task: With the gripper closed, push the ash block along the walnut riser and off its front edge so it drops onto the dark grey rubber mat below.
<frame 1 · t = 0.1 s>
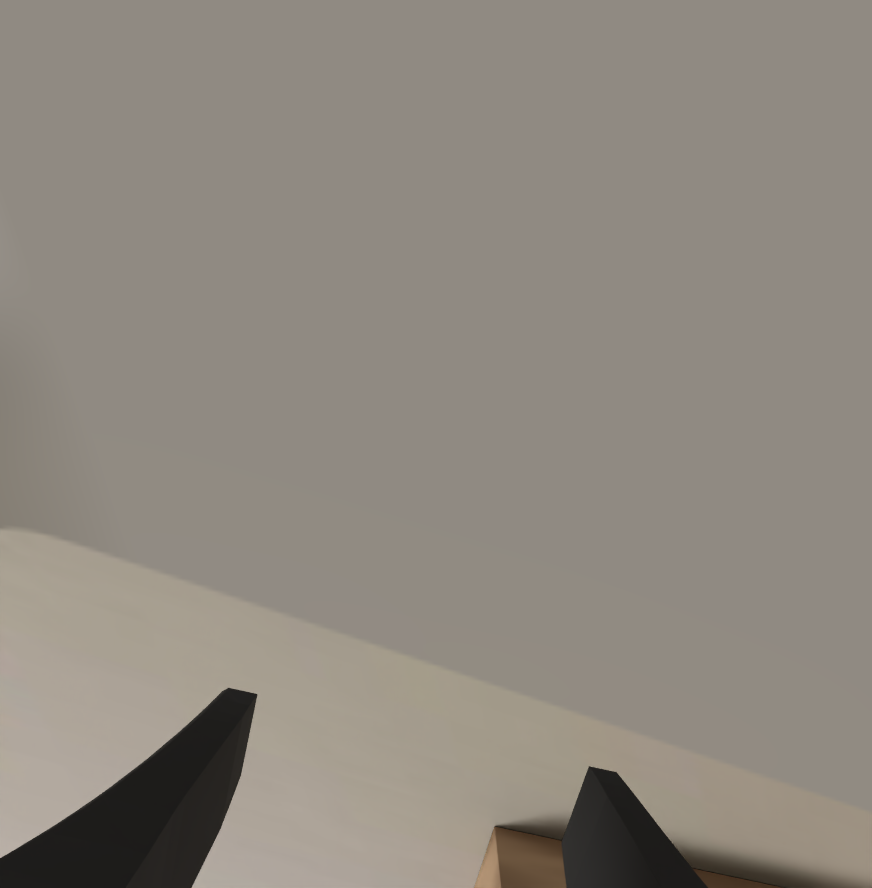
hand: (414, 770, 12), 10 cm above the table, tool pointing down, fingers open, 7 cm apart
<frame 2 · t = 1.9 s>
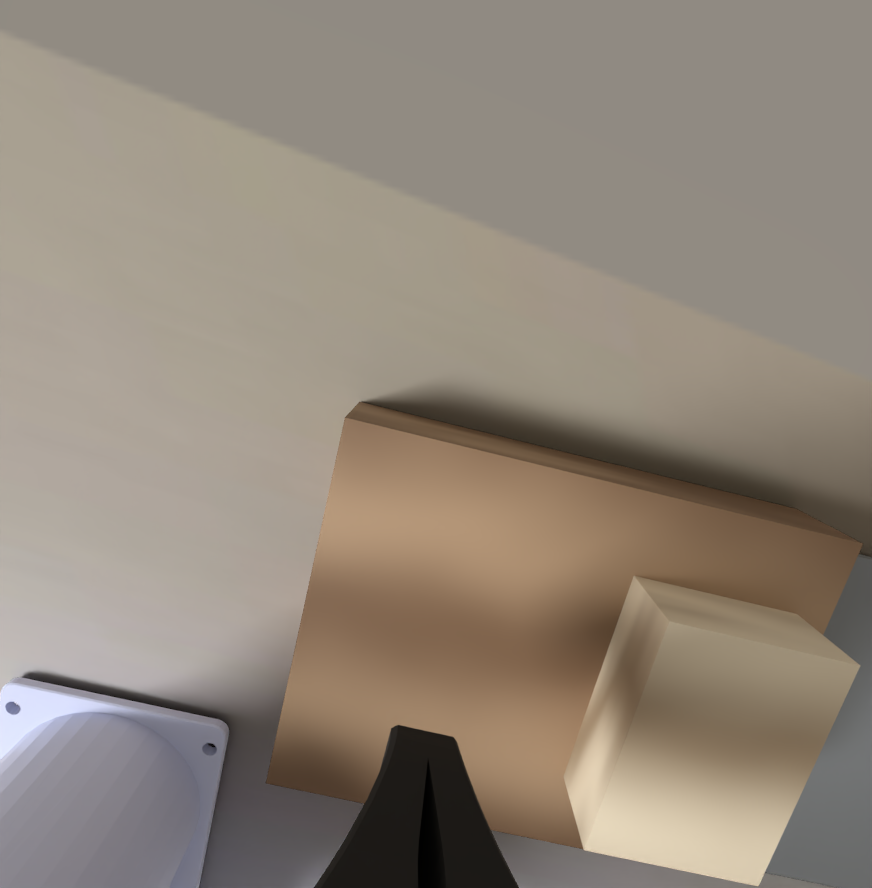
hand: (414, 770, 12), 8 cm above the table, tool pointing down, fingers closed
ash block: (676, 698, 17), point 3 cm above the table, touching walnut riser
walnut riser: (532, 617, 20), on the table
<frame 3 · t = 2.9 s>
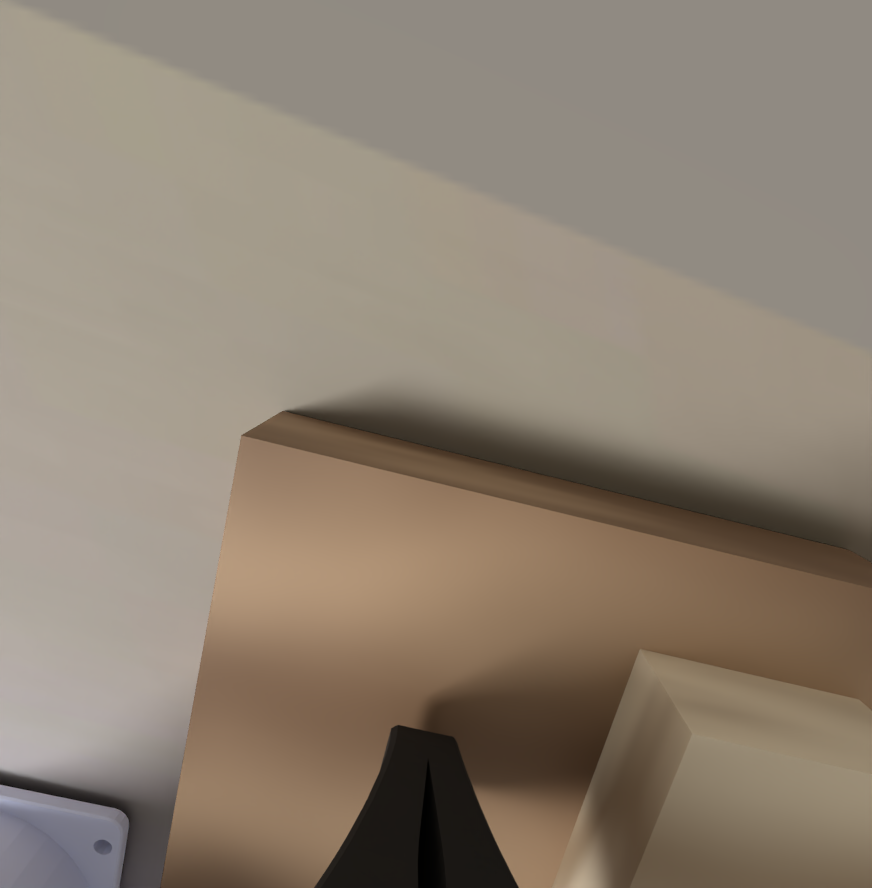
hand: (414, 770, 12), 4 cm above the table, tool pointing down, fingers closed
ash block: (695, 806, 13), point 3 cm above the table, touching walnut riser
walnut riser: (509, 684, 15), on the table
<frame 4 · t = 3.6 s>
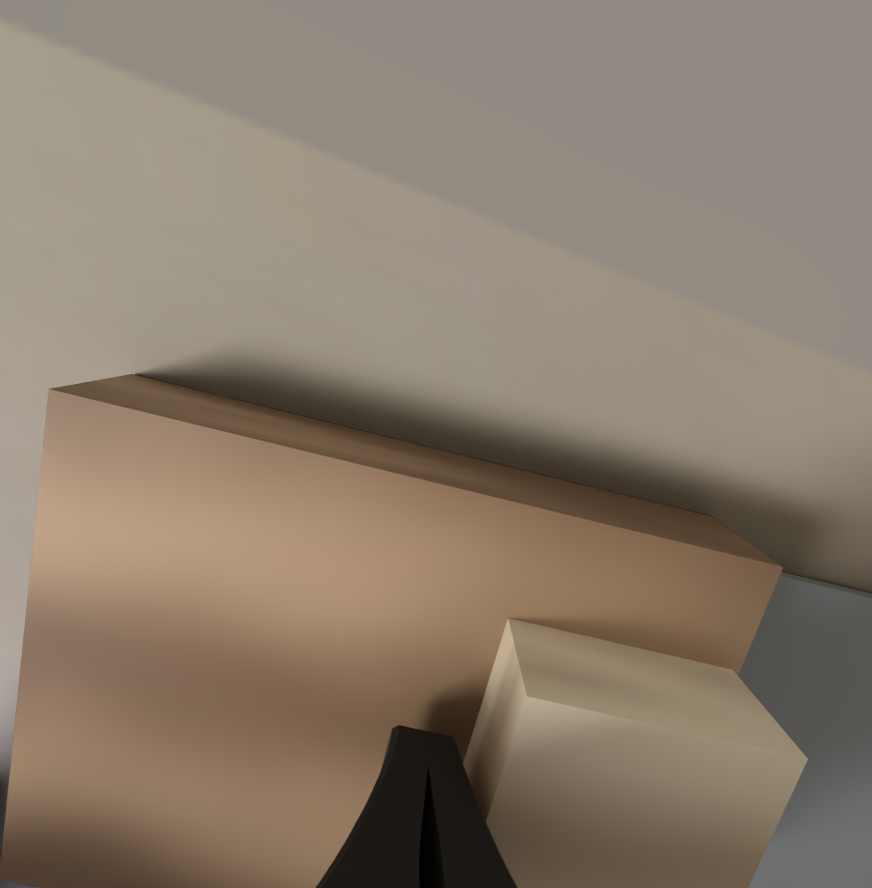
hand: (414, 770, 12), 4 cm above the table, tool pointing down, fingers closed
ash block: (572, 779, 13), point 3 cm above the table, touching gripper, walnut riser
rubber mat: (833, 804, 16), on the table
walnut riser: (377, 654, 15), on the table
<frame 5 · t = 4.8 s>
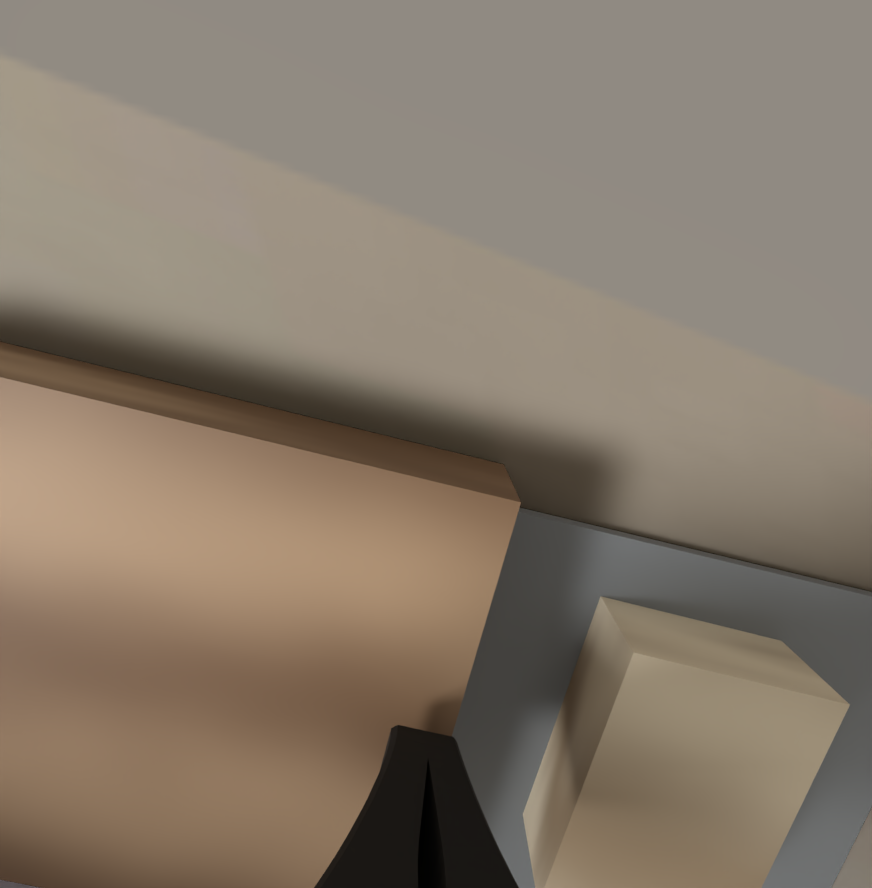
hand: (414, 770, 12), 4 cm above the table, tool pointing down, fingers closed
ash block: (686, 809, 13), point 3 cm above the table, tilted 180°, touching rubber mat
rubber mat: (652, 764, 16), on the table
walnut riser: (173, 608, 15), on the table
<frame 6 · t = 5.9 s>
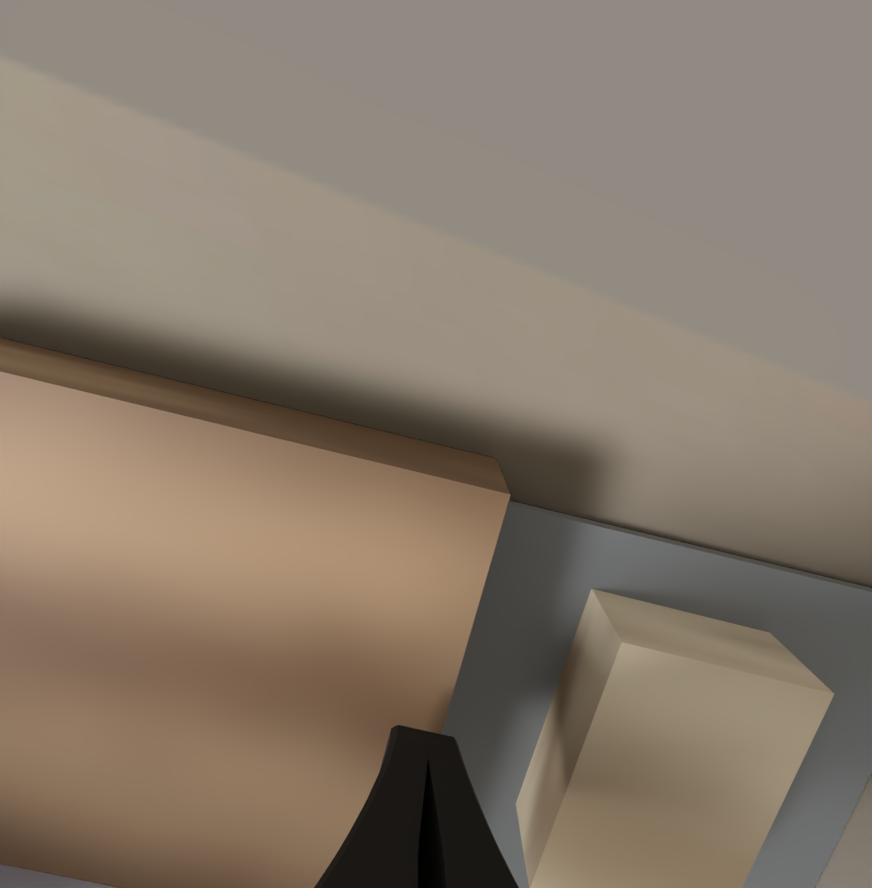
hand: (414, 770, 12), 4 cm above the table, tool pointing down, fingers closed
ash block: (674, 796, 13), point 3 cm above the table, tilted 180°, touching rubber mat
rubber mat: (643, 754, 16), on the table
walnut riser: (172, 600, 15), on the table
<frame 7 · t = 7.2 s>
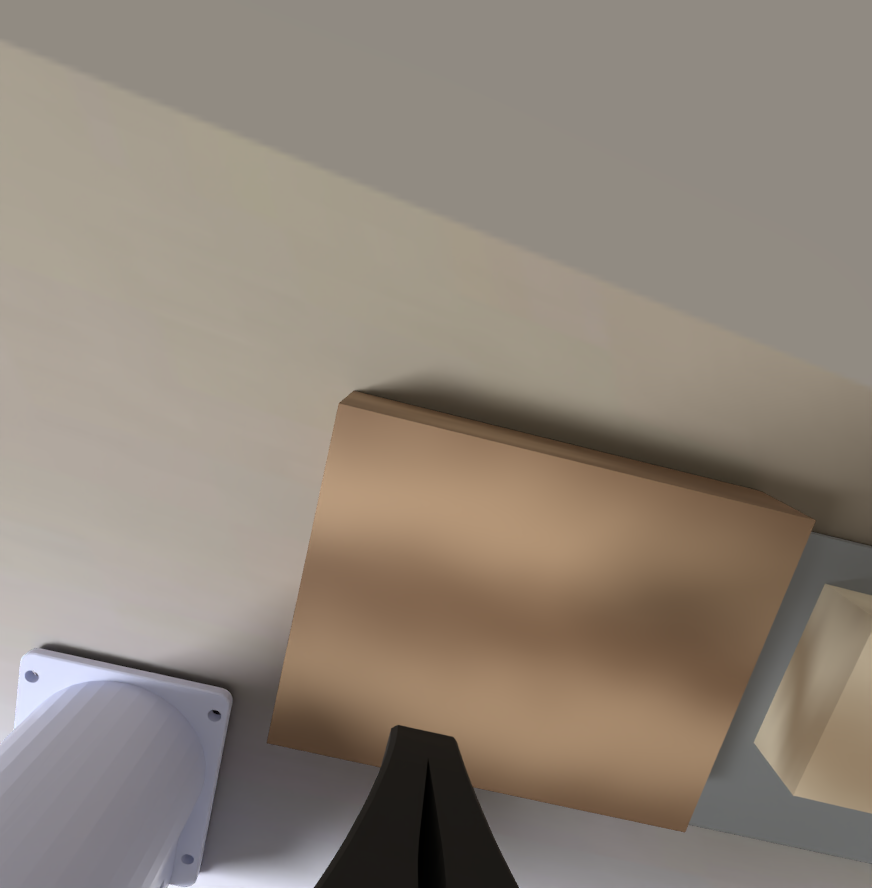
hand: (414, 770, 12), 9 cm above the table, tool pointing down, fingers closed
rubber mat: (847, 706, 22), on the table
walnut riser: (515, 593, 21), on the table
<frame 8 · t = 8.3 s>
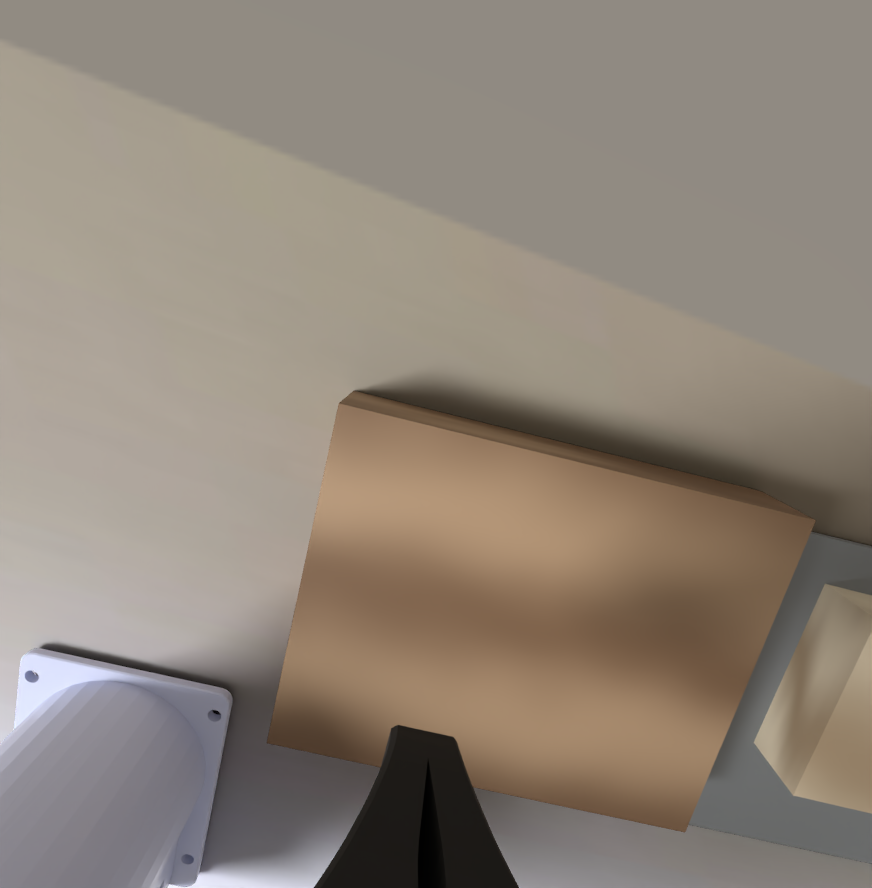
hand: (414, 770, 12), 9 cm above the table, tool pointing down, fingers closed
rubber mat: (847, 706, 22), on the table
walnut riser: (515, 593, 21), on the table
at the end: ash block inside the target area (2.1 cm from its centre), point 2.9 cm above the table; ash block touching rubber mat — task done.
